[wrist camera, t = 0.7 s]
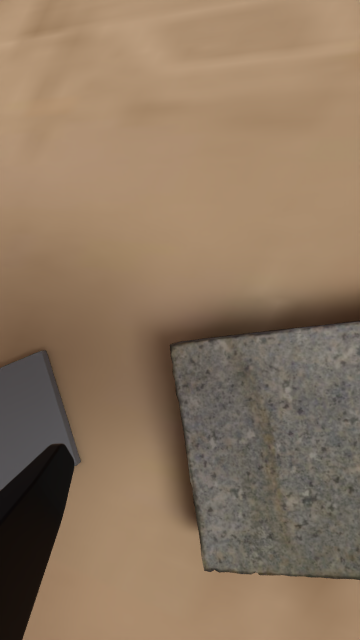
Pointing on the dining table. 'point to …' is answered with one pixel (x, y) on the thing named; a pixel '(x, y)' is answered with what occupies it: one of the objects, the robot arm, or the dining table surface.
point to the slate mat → (30, 415)
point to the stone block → (274, 449)
